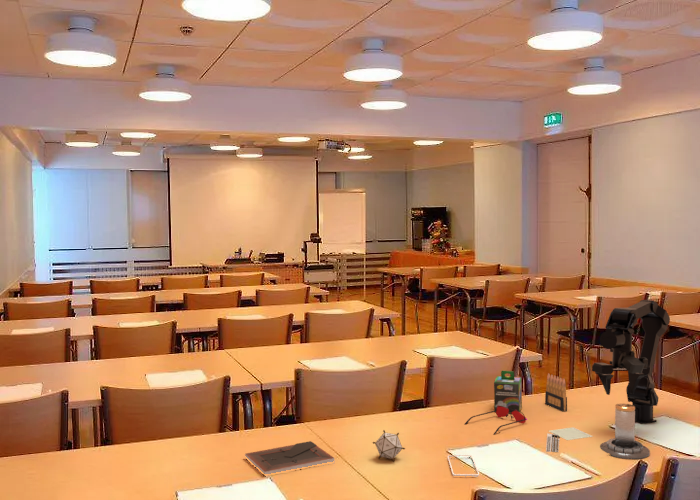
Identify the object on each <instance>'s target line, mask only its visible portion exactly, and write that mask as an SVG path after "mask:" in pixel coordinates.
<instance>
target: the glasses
mask: <svg viewBox="0 0 700 500" xmlns="http://www.w3.org/2000/svg"><path fill="white" fill-rule="evenodd" d="M496 408H497V410H495V411H494V410H492V411H487V412H484V413H480V414H477V415H472V416H471V417H470V418H468V419H467V421H466V422H465V423H464V425H465V426H466V425H467V424H468V423H469V422H470V420H472V419H473V418H475V417H480V416H483V415H487V414H492V413H495V414H496V417H497V418H503V417H505V418H507V417H509V413H508V412H509V409H510V408H508V409H507V407H503V406H499V405H497V407H496ZM511 410H513V409H511ZM510 418H511V420H513V419H514V420H515V421H512V422H509V423H505V424H502V425H500V426H498V428H496V430H495V431H494V432H493V434H492V435H493V436H495V435H496V434H497V432H498V431H500V429H501V428H503V427H505V426H509V425H513V424H517V423H521V424H525V423H526V421H527V420H528V418H527V417H526V416H525V414H524V413H523V412H522V411H517V410H514V411H513V412H512V413H511V415H510Z"/></svg>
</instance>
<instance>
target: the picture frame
mask: <svg viewBox="0 0 700 500" xmlns="http://www.w3.org/2000/svg"><path fill="white" fill-rule="evenodd" d="M245 456H246V457H247V458H248V459H249V460H250V461H251V462H252V463H253V464H254V465H255V466H256V467H258V468H259V469H260V470H261V471H262V472H263V473H264V474H271V473H276V472H281V471H286V470H291V469H297V468H302V467H308V466H312V465H317V464H322V463H327V462H333V461H334V462H335V457H333V455H331V454H330V453H328V452H326V451H325V450H323V448H321V447H319V446H318V445H317V444H316V443H314V442H313V441H312V440H309V441H304V442H299V443H295V444H291V445H285V446H280V447H273V448H269V449H264V450H259V451H258V450H257V451H252V452H247V453H245V454H244V457H245Z"/></svg>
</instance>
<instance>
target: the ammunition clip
mask: <svg viewBox="0 0 700 500" xmlns="http://www.w3.org/2000/svg"><path fill="white" fill-rule="evenodd" d="M546 379H547V380H546V390H545V397H544V398H545V399H544V404H545V406H548V405H549V407H550V406H551V407H550V408H553V409H556V410H558V411H560V412H563V413H565V412H568V396H567V389H566V380H565V378H562V377H559V376H556V375H555V374H554V375H553V374H551V375H550V373H549V372H548V373H547V377H546Z"/></svg>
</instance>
